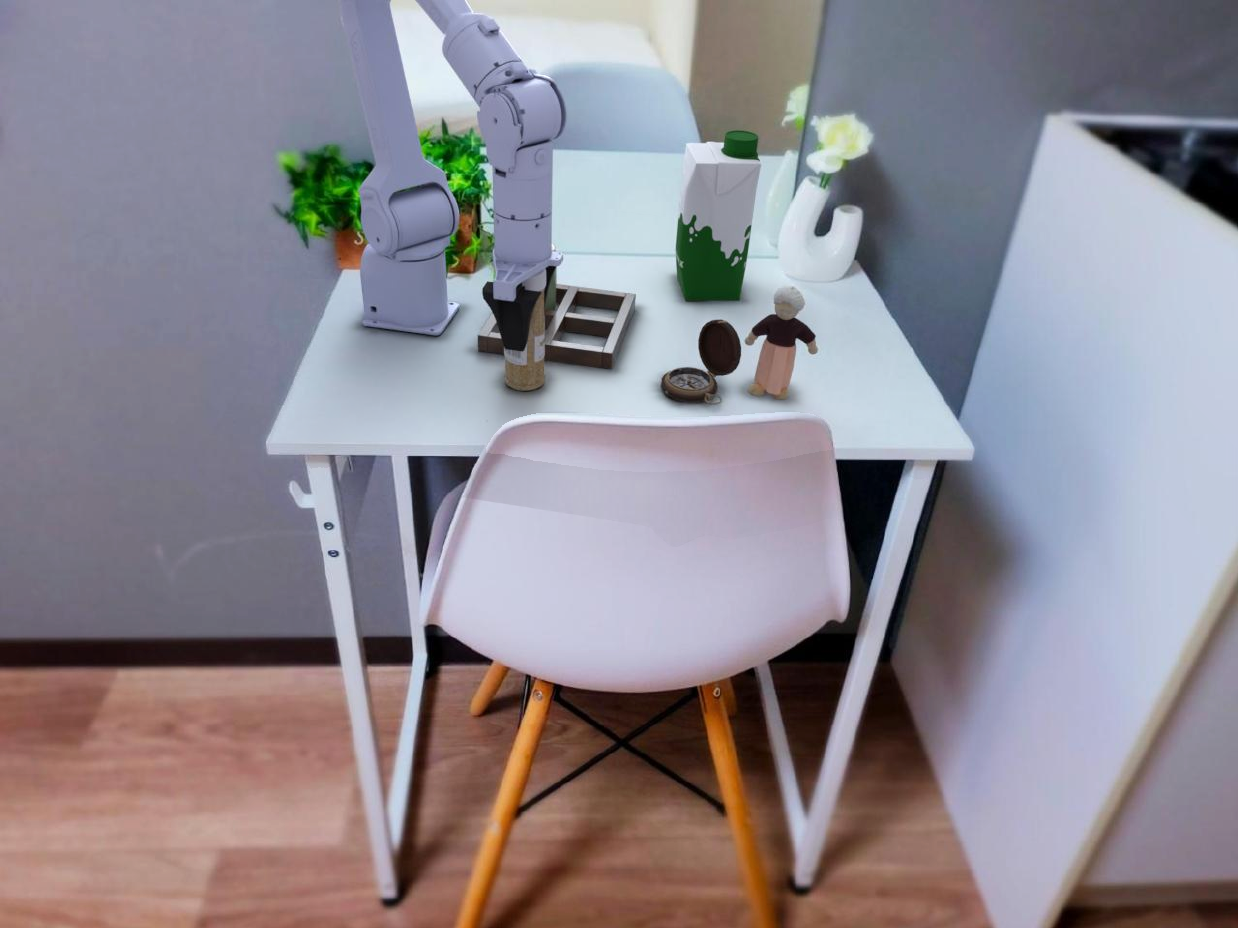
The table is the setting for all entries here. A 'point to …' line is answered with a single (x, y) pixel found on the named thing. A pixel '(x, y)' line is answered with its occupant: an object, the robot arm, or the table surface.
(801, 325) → the grandmother figurine
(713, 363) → the compass
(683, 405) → the table surface
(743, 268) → the milk carton
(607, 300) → the holder
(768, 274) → the table surface
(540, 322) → the sprinkles bottle
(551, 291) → the spice jar
